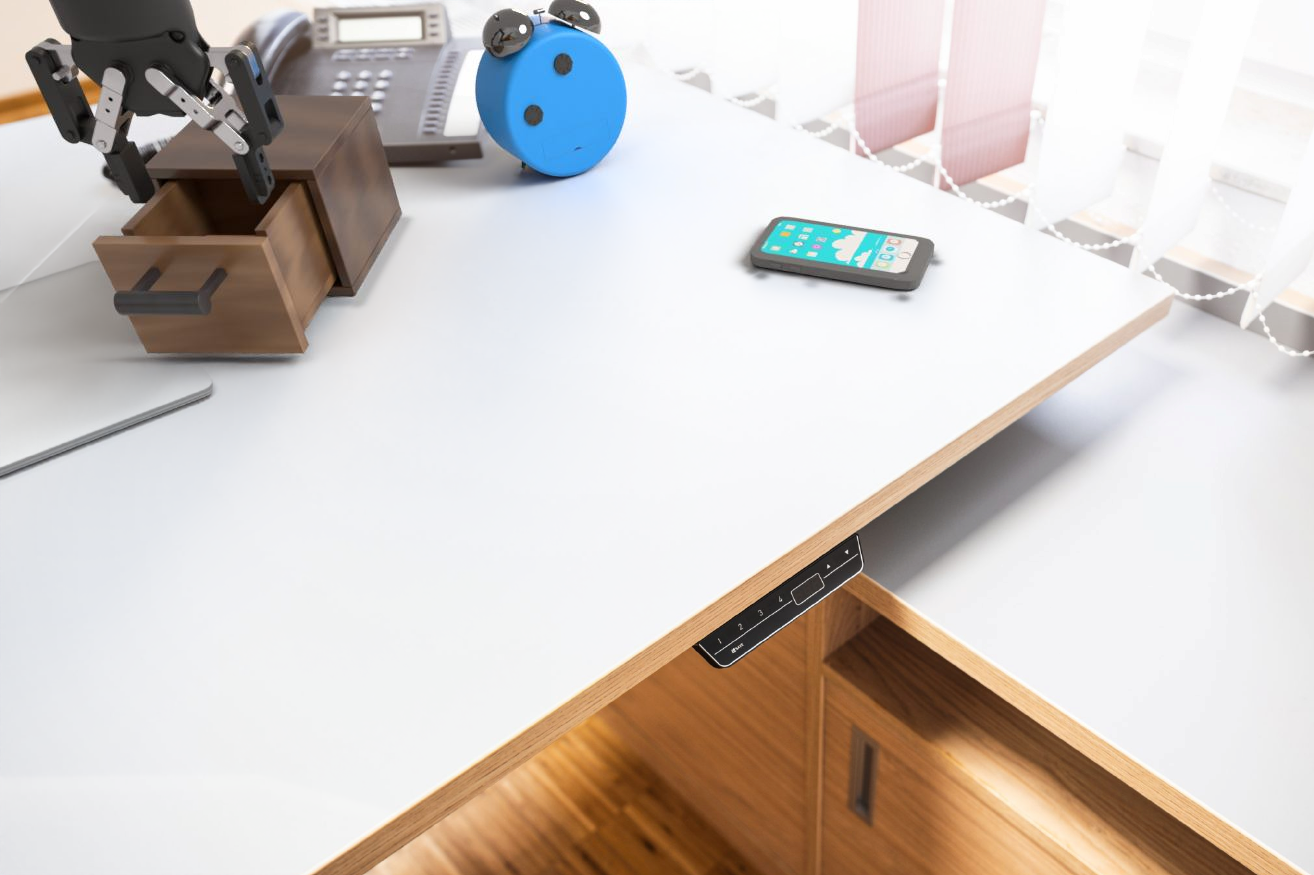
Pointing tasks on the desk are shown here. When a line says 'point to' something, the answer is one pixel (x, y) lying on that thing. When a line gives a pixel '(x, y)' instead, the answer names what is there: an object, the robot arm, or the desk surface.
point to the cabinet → (311, 173)
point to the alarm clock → (550, 88)
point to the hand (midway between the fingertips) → (203, 199)
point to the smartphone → (843, 252)
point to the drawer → (221, 268)
